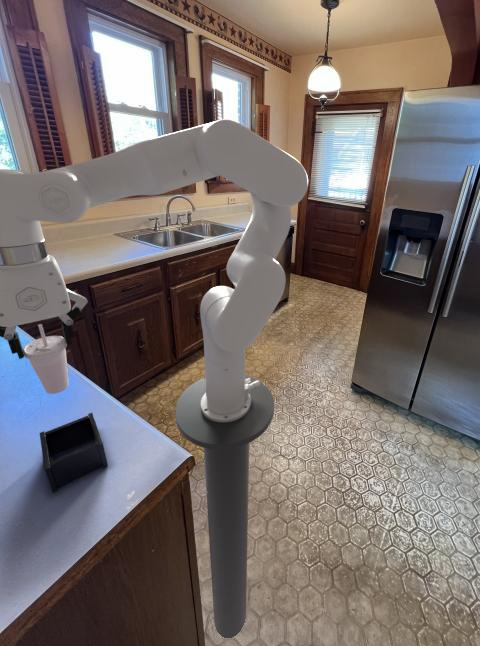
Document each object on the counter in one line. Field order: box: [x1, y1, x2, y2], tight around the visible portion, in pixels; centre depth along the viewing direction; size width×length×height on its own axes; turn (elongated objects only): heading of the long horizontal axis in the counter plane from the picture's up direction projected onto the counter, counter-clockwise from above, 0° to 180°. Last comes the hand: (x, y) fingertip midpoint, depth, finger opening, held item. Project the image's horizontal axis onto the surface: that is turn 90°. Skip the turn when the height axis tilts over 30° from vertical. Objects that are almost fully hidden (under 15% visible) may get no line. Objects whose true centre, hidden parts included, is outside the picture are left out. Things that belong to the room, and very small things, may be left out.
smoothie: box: [23, 323, 70, 395], centre depth 57 cm, size 6×6×14 cm
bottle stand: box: [39, 412, 109, 494], centre depth 60 cm, size 9×10×6 cm
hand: (45, 347), depth 56 cm, fingers closed on smoothie, 6 cm apart
